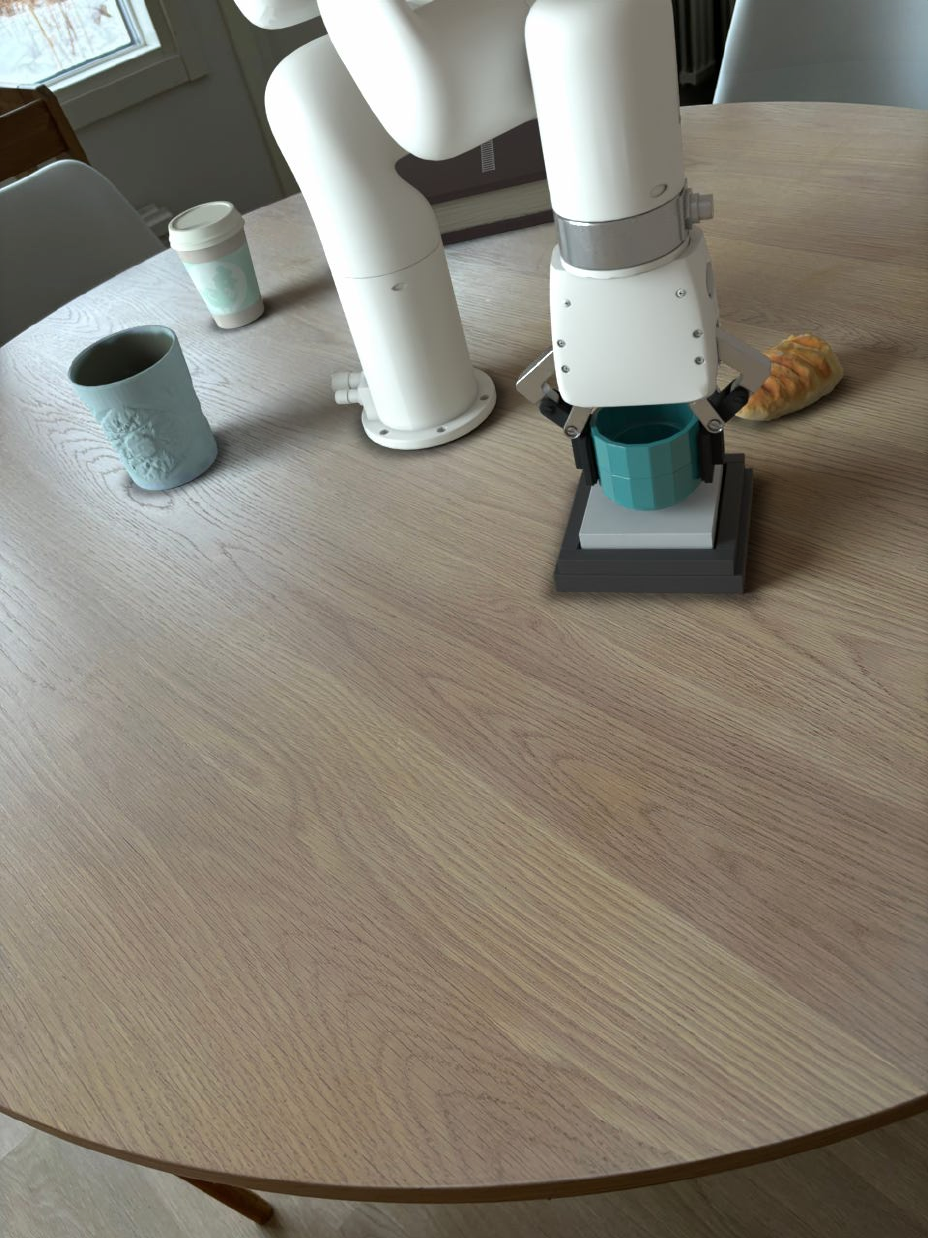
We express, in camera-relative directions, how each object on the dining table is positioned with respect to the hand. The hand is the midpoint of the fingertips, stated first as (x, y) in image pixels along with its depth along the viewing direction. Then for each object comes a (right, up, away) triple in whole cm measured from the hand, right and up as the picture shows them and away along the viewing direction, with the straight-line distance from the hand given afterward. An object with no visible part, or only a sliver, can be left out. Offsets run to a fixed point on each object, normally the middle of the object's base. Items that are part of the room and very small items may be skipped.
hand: (650, 471), depth 70 cm
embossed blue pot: (-40, +4, +27) cm, 49 cm away
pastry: (+14, +8, +13) cm, 21 cm away
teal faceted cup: (0, -1, +1) cm, 1 cm away
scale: (+1, -4, +4) cm, 6 cm away
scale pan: (+1, -2, +2) cm, 4 cm away
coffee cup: (-39, +25, +48) cm, 67 cm away
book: (-14, +41, +57) cm, 71 cm away
